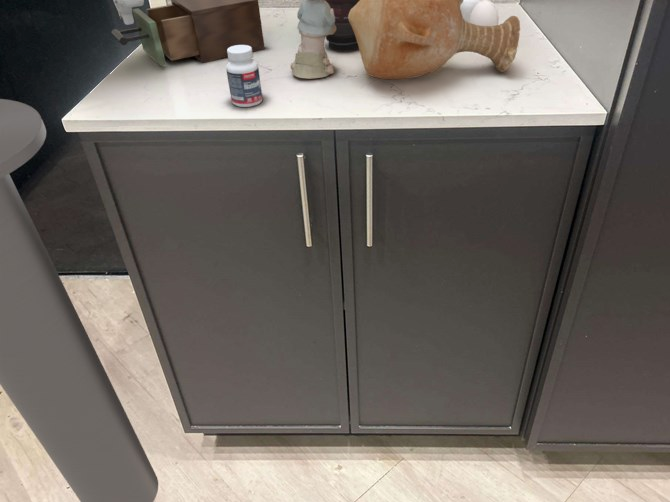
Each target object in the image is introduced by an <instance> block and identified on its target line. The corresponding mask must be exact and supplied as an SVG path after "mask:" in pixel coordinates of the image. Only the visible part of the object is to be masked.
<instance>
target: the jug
mask: <svg viewBox="0 0 670 502" xmlns="http://www.w3.org/2000/svg"><path fill="white" fill-rule="evenodd" d="M462 3H463V0H360V1H359V2H358V3H357V4H356V5H355V6H354V7H353V8H352V9H351V10H350V12H349V15H348V19H349V22H350V24H351V26H352V28H353V31H354V34H355V36H356V40H357V43H358V46H359V49H358V50H359V53H360V57H361V58H360V59H361V62H362V64H363V67H364V70H365V72H366V74H368V75H369V76H372V77H375V78H378V79H385V80H405V79H410V78H411V79H412V78H418V77H421V76H422V77H423V76H424V75H427V74H431V73H432V72H434V71H437V70H438V69H440V68H441V67H443V66H444V65H445V64H447V63H448V61H450V59H452V57H454V56H455V55H457V54H459V53H464V52H465V53H467V52H468V53H469V52H470V53H474V54H478V55H481V56H484V57H485V58H486V59H489V60H490V61H491V62H492V63H493V66H494V68H495V69H496V71H498V72H500V73H503V72H504V71H506V70H507V69H508V68H509V67H510V66H511V65H512V63H513V61H514V60H515V59H516V55H517V51H518V47H519V42H520V31H521V23H520V19H519V18H518V16H516V15H510V16H509V17H508V18H507V19H505V20H504V22H503V23H500V24H498V25H496V26H479V25H474V24H471V23H468V22H466V21H465V20H464V19H463V17H462V13H461V10H460V5H461V4H462Z"/></svg>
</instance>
